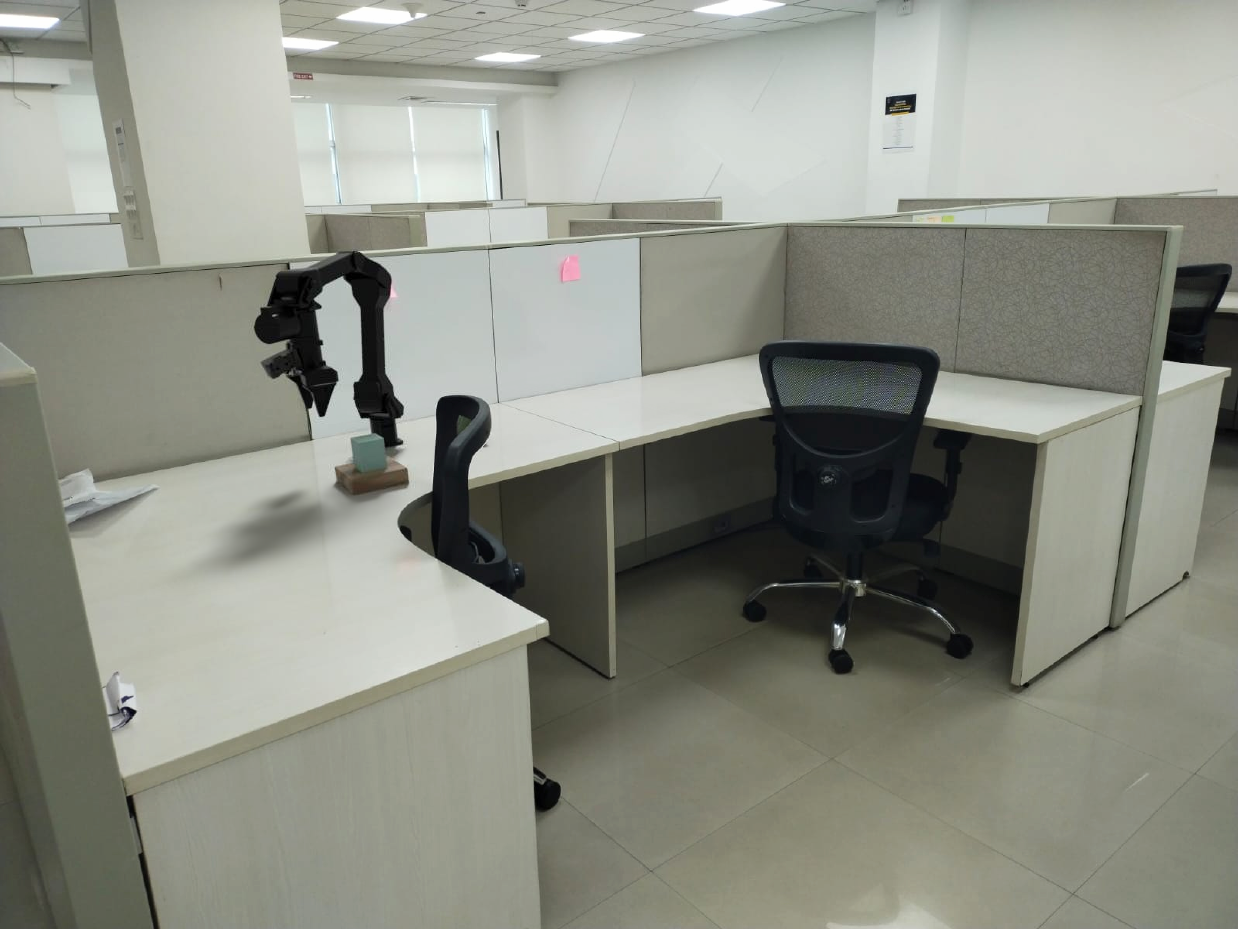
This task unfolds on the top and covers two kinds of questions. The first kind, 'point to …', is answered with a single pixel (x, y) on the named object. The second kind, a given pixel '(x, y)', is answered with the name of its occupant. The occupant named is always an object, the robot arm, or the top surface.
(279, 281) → the robot arm
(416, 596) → the top surface
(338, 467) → the walnut base
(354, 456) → the teal block
